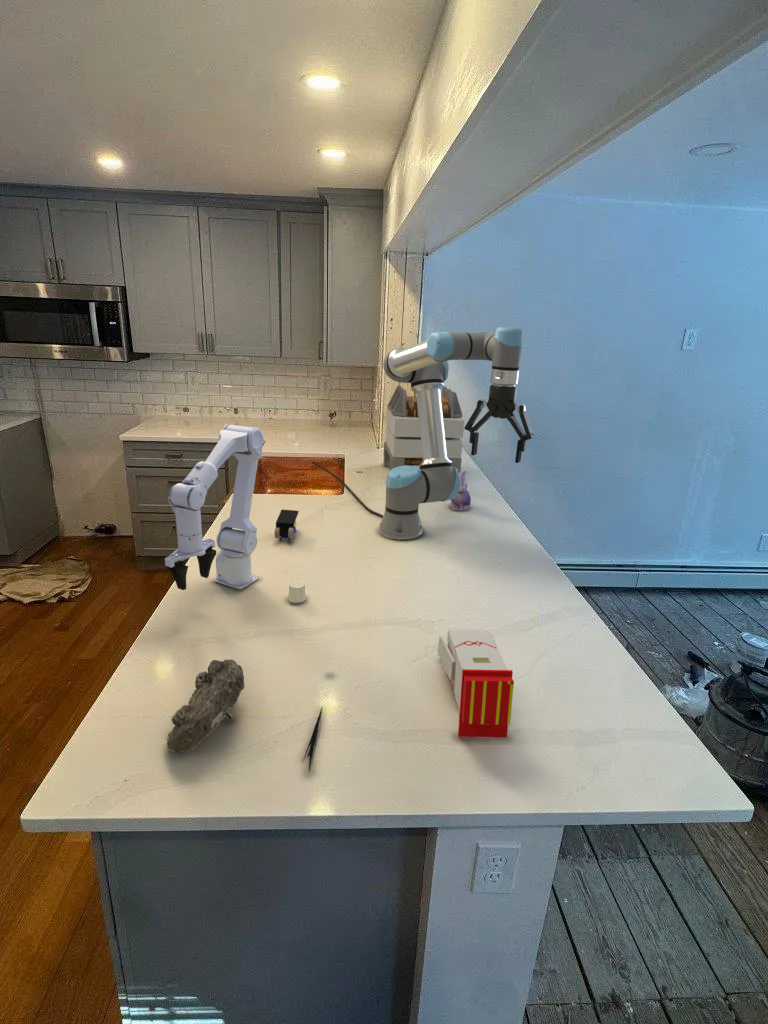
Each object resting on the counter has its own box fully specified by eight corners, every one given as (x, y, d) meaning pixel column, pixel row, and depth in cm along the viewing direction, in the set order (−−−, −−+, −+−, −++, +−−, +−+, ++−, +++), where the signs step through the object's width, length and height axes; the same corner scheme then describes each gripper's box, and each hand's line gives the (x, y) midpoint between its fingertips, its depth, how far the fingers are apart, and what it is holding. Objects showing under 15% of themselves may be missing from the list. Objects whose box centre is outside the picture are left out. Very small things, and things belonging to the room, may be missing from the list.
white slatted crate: (382, 463, 289) (386, 382, 275) (445, 464, 293) (451, 384, 279) (390, 482, 257) (394, 392, 243) (460, 483, 261) (468, 394, 247)
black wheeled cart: (294, 548, 187) (299, 527, 200) (293, 528, 183) (299, 508, 197) (273, 548, 187) (280, 526, 200) (272, 527, 183) (279, 507, 197)
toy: (488, 613, 130) (523, 677, 101) (484, 667, 133) (517, 744, 104) (435, 612, 130) (455, 676, 101) (432, 666, 133) (451, 743, 103)
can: (289, 603, 150) (288, 588, 149) (288, 595, 154) (288, 580, 153) (305, 602, 151) (305, 587, 149) (304, 595, 155) (304, 580, 153)
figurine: (457, 512, 223) (460, 476, 218) (443, 504, 231) (446, 469, 226) (477, 509, 227) (480, 473, 222) (462, 502, 236) (465, 467, 230)
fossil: (192, 660, 117) (244, 628, 112) (224, 691, 120) (276, 661, 115) (142, 746, 98) (202, 712, 93) (182, 779, 101) (242, 748, 96)
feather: (331, 679, 122) (336, 673, 122) (307, 777, 96) (313, 769, 95) (324, 675, 122) (329, 669, 121) (298, 772, 95) (304, 764, 95)
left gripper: (178, 545, 129) (183, 598, 134) (223, 526, 141) (226, 575, 146) (156, 539, 132) (161, 591, 137) (202, 520, 144) (205, 569, 149)
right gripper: (457, 381, 163) (451, 453, 170) (543, 390, 151) (533, 468, 158) (467, 379, 169) (461, 449, 176) (551, 388, 157) (540, 462, 164)
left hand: (193, 582), depth 141 cm, fingers open, 7 cm apart
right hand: (495, 458), depth 167 cm, fingers open, 13 cm apart
